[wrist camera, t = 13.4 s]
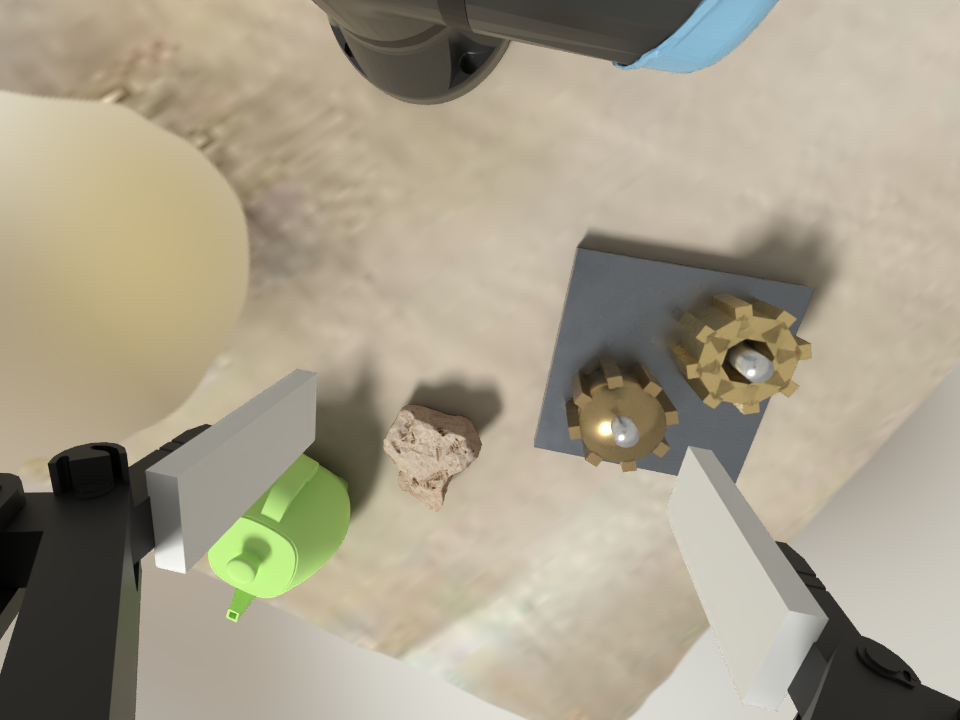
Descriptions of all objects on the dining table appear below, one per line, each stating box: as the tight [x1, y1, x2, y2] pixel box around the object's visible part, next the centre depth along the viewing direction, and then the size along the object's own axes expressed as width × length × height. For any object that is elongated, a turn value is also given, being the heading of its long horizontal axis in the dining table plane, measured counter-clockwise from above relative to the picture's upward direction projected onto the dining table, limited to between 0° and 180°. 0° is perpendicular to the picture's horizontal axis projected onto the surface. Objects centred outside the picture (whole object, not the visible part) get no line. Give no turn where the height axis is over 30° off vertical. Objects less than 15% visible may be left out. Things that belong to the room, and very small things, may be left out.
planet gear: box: [670, 293, 812, 415], centre depth 38 cm, size 9×9×5 cm
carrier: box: [534, 247, 815, 483], centre depth 40 cm, size 20×20×8 cm
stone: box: [383, 405, 482, 511], centre depth 47 cm, size 9×11×5 cm
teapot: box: [208, 454, 351, 622], centre depth 48 cm, size 20×13×13 cm
